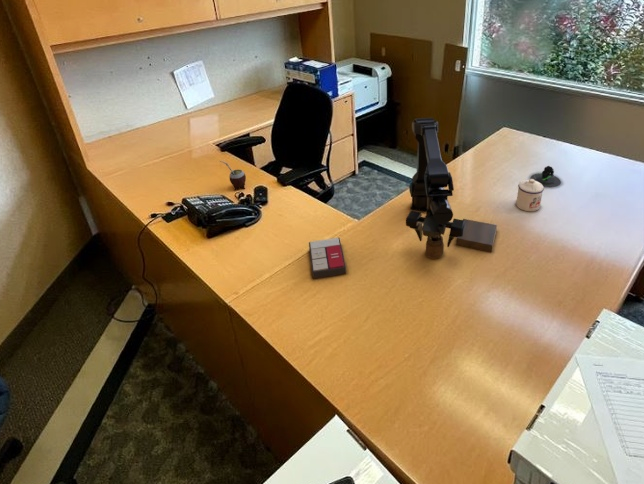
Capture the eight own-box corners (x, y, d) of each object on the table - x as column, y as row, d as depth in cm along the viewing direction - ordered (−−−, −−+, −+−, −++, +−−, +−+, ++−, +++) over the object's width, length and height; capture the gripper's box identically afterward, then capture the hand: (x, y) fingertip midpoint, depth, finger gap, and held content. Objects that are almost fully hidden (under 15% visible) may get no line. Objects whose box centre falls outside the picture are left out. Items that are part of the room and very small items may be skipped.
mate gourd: (250, 185, 189) (244, 156, 182) (238, 193, 184) (231, 164, 176) (239, 181, 193) (232, 153, 186) (226, 189, 187) (219, 160, 180)
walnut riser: (456, 244, 145) (456, 237, 143) (462, 225, 154) (463, 218, 153) (491, 252, 140) (492, 245, 139) (496, 231, 150) (497, 224, 148)
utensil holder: (439, 261, 138) (441, 233, 132) (422, 255, 141) (422, 227, 135) (446, 251, 142) (447, 223, 136) (428, 245, 145) (429, 218, 139)
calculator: (311, 271, 132) (308, 240, 145) (313, 280, 135) (309, 249, 147) (345, 265, 134) (339, 235, 146) (346, 275, 136) (340, 244, 148)
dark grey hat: (565, 186, 172) (571, 161, 166) (536, 188, 173) (541, 162, 167) (553, 172, 182) (558, 148, 177) (526, 173, 183) (530, 149, 177)
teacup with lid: (531, 215, 157) (536, 188, 151) (510, 205, 163) (514, 179, 157) (549, 203, 163) (554, 177, 157) (528, 193, 169) (532, 169, 163)
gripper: (400, 213, 129) (400, 252, 136) (461, 224, 122) (457, 265, 129) (410, 195, 138) (410, 232, 145) (467, 204, 130) (464, 243, 138)
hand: (434, 243), depth 139 cm, fingers open, 9 cm apart
